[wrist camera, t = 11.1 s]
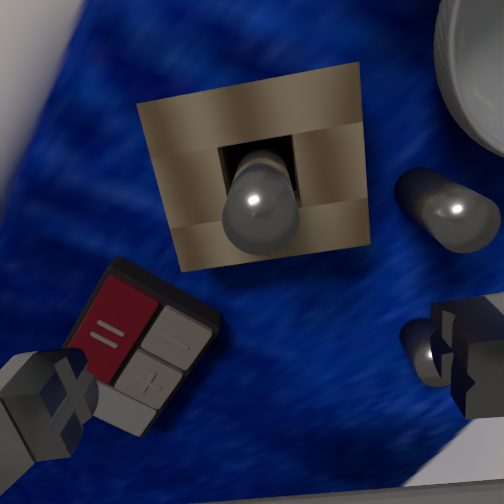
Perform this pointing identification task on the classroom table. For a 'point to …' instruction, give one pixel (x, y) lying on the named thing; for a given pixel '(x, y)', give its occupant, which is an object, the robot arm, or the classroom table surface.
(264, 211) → the long pin
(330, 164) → the block
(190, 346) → the calculator
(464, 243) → the medium pin
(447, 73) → the cereal bowl
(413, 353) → the short pin
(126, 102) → the classroom table surface
